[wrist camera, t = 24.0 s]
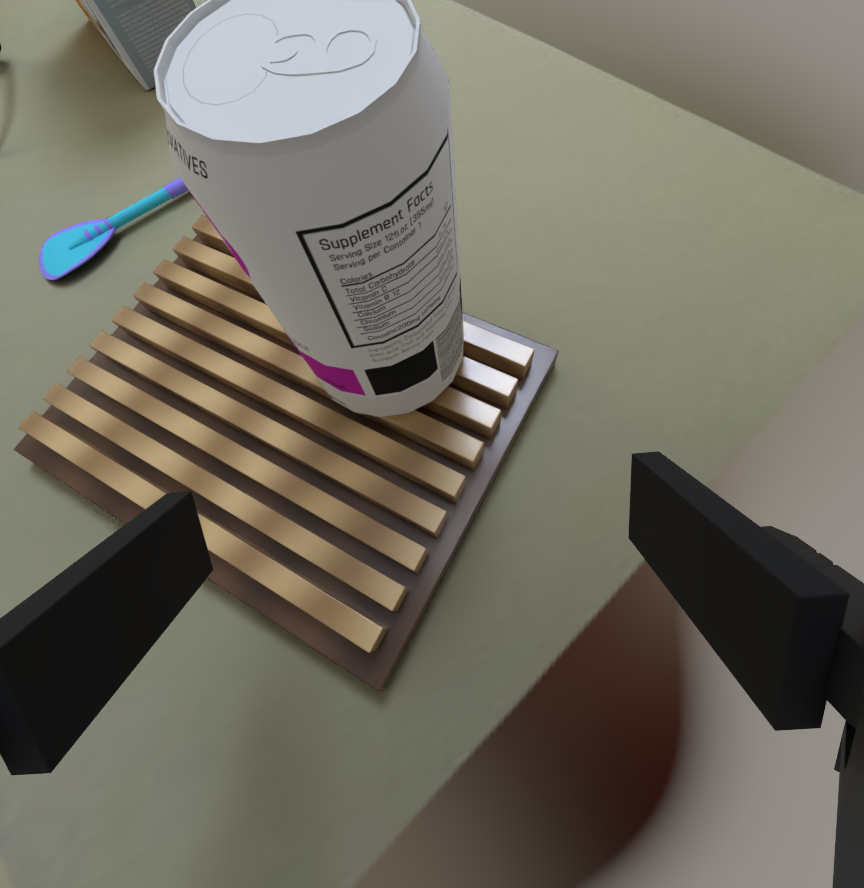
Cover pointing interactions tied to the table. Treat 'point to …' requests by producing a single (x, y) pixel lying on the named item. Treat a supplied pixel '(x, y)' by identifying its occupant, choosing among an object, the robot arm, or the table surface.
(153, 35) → the hard drive box
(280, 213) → the supplement can
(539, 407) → the table surface
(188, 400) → the scrub board
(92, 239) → the spoon
